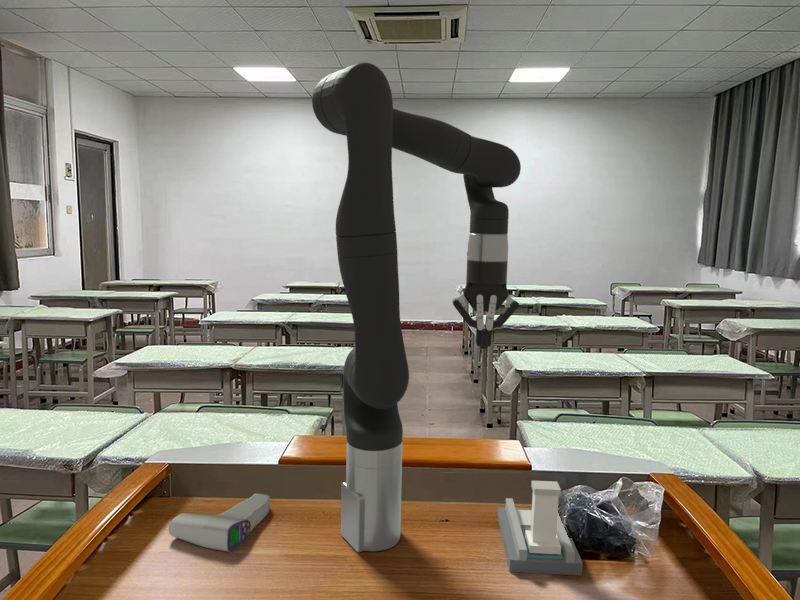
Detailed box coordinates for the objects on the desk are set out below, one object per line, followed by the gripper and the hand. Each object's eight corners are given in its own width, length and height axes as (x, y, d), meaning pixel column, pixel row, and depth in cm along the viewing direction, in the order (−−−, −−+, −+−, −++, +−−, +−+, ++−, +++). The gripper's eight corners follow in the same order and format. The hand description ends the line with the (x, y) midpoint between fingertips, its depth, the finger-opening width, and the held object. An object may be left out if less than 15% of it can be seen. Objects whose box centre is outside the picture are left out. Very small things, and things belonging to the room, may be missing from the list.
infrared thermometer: (275, 515, 106) (232, 556, 92) (216, 506, 109) (165, 544, 95) (275, 491, 106) (232, 528, 91) (216, 482, 109) (165, 517, 94)
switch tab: (560, 554, 89) (564, 492, 88) (529, 552, 89) (533, 491, 88) (554, 538, 94) (558, 479, 92) (524, 537, 94) (528, 478, 92)
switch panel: (581, 575, 88) (583, 552, 88) (509, 571, 89) (510, 549, 88) (558, 520, 104) (560, 500, 104) (497, 517, 105) (498, 497, 104)
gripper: (452, 258, 104) (449, 352, 107) (526, 260, 104) (521, 354, 106) (451, 255, 112) (448, 343, 114) (519, 257, 111) (515, 345, 114)
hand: (483, 348), depth 110 cm, fingers closed
